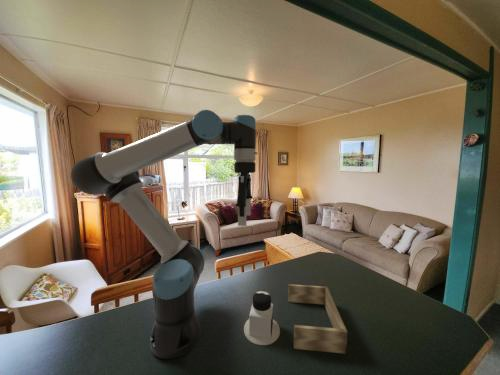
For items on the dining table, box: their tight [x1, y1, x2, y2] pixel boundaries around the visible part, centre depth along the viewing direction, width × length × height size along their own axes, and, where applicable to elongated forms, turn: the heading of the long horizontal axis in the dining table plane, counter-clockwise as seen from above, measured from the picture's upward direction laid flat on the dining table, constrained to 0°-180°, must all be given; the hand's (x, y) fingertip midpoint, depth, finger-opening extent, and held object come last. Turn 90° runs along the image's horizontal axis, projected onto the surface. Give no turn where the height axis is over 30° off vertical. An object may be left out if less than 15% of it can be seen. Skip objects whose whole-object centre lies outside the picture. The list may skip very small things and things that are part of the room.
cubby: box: [287, 283, 348, 355], centre depth 71 cm, size 15×22×7 cm
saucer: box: [243, 318, 281, 346], centre depth 69 cm, size 12×12×1 cm
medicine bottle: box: [248, 290, 274, 338], centre depth 68 cm, size 7×7×12 cm
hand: (244, 219), depth 75 cm, fingers open, 13 cm apart
